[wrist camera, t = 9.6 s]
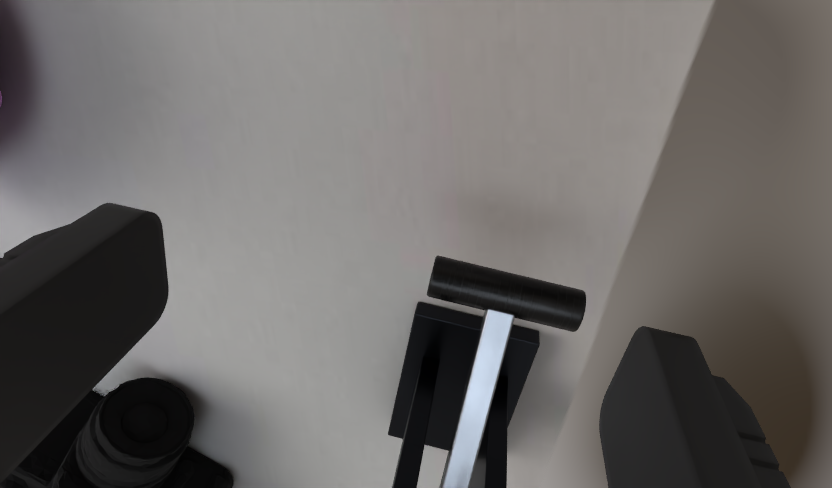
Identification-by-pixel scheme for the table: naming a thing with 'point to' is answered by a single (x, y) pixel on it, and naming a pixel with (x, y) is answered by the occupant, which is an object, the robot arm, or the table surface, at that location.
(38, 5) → the table surface
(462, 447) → the lever
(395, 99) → the table surface
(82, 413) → the film camera
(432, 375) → the bracket
